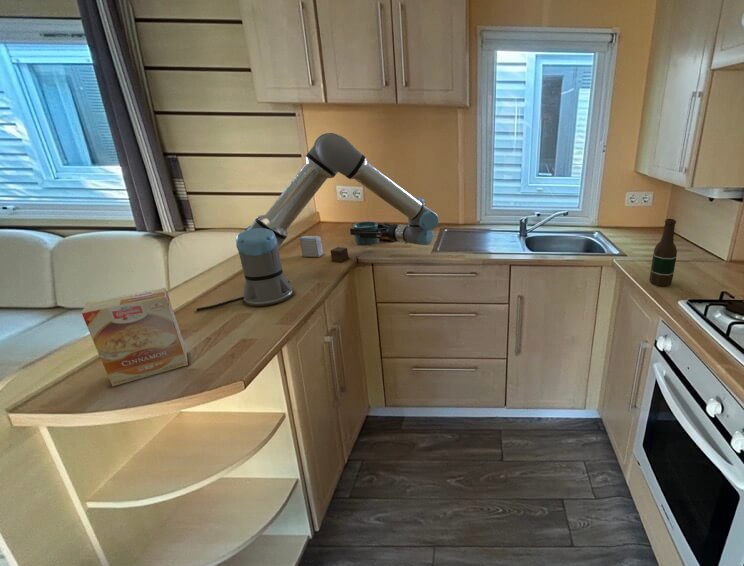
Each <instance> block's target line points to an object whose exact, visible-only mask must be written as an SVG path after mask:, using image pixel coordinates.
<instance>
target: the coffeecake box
mask: <svg viewBox="0 0 744 566" xmlns="http://www.w3.org/2000/svg"><path fill="white" fill-rule="evenodd" d="M81 315H82V318H83V320H84V322H85V325H86V327H87V330H88V333H89V335H90V337H91V340H92V342H93V344H94V347H95V349H96V351H97V355H98V356H99V359H100V361H101V363H102V365H103V367H104V370H105V372H106V375H107V377H108V379H109V382H110V384H111V386H112V387H115V386H116V387H117V386H119V385H123V384H126V383H130V382H134V381H136V380H141V379H144V378H147V377H151V376H155V375H158V374H161V373H165V372H168V371H172V370H175V369H180V368H182V367H186V366H188V352H187V348H186V346H185V343H184V339H183V336H182V334H181V330H180V327H179V324H178V321H177V318H176V315H175V312H174V308H173V306H172V303H171V300H170V297H169V294H168V290H167V288H166V287H162V288H161V287H160V288H157V289H152V290H147V291H142V292H135V293H130V294H124V295H121V296H114V297H110V298H104V299H99V300H93V301H88V302H86V303H85V305H84V308H82V311H81Z"/></svg>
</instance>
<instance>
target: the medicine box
mask: <svg viewBox="0 0 744 566" xmlns="http://www.w3.org/2000/svg"><path fill="white" fill-rule="evenodd" d="M298 239H299V244H300V250H301V255H302V257H303V258H304V257H307V258H308V257H309V258H311V257H312V258H320V257H321V256H323V255H324V250H323V245H322V238H321V236H320V235H303V236H301V237H300V238H298Z"/></svg>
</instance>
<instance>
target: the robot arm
mask: <svg viewBox="0 0 744 566" xmlns="http://www.w3.org/2000/svg"><path fill="white" fill-rule="evenodd" d="M338 173H339V174H340V175H342V176H344V177H346V178H347V179H349V180H354V181H356V182H358V183H359V184H360V185H362V186H363V187H365V188H366V189H368V190H369V191H370V192H371V193H373V194H374V195H375V196H377V197H379V198H380V199H381V200H383V201H384V202H386V203H387V204H389V205H390V206H391V207H393V208H394V209H395V210H397V211H398V212H399V213H401V214H403V215H404V216H405V217H406V218H407V222H408V224H399V223H388V222H383V223H382V222H381V223H378V222H377V223H378V229H377V230H366V231H363V230H362V229H353V227H352V228H349V232H350V233H349V234H350V235H351V236H354V235H357V236H359V237H360V238H378V239H379V240H382V239H381V237H388V238H389V239H390V240H389V241H391V242H396V243H397V242H400V243H404V244H414V245H418V246H428V245H430V244H431V243H432V242H433V240H434V231H433V230H435V229H436V228H437V227H438V226H439V223H440V222H439V220H440V219H439V216H438V214H437V213H436V212H435V211H434V210H432V209H430V208H429V207H428V206H427V205H426V201H425V199H424V198H422V197H415V196H413V195H412V194H411V193H409V192H408V191H407V190H406V189H404V188H403V187H401V185H399V184H397V183H396V182H394V181H393V180H392V179H390V178H389V177H388V176H387V175H385V174H384V173H383V172H382V171H380V170H379V169H378V168H376V166H374V165H372V164H371V163H369V161H367V157H366V155H364V154H363V153H362V152H360V151H359V150H358V148H356V147H355V146H354V145H353V144H352V143H351V142H350V141H349V140H348V139H347V138H345V137H344V136H342V135H340V134H337V133H333V132H326V133H323V134H321V135H319V136H318V137H317V138H316V139H315V141H314V143H313V146H312V147H311V148H310V150H309V151H308V152H307V153H306V155H305V164H304V165H303V166H302V168H301V169H300V170H299V171H298V172H297V174H296V175H295V176H294V178H293V179H292V180H291V181H290V182H289V184H288V185H287V186H286V187H285V189H284V191H283V192H281V194H280V195H279V197H278V198H277V199H276V200H275V201H274V203H273V204H272V206H271V207H270V208H269V209H268V211H267V212H266V213H265V214H262V215H258V216H257V217H256V218H255V219H254V221H253V222H252V223H251V224H250V225H249V226H247V227H246V228H245V229H244V231H241V232H240V233H238V234H237V235H236V237H235V247H236V249H237V251H238V256H239V259H240V264H241V268H242V271H243V275H244V280H245V281H244V289H243V296H241V297H236V298H234V299H230V300H226V301H223V302H220V303H215V304H212V305H208V306H202V307H197V308H196V309H195V310H196V312H201V311H207V310H210V309H211V310H213V309H215V308H220V307H223V306H226V305H229V304H232V303H236V302H240V301H244V304H245V305H247V306H250V307H268V306H273V305H276V304H280V303H283V302H285V301H287V300H289V299H291V297H292V296H293V295H294V290H293V287H292V285H291V282H290V281H289V280H288V279H287V277H286V276H285V274H284V270H283V266H282V261H281V256H280V249H279V248H280V247H281V245H282V244H283V243H284V241H285V240H286V239H287V238H288V237H289V233H288V229H289V228H290V226H291V225H292V224H293V223H294V221H295V220H296V219H297V217H298V216H300V214H301V212H302V211H303V210H304V209H305V207H306V206H307V205H308V204H309V202H310V201H311V200H312V198H313V197H314V196H315V195H316V193H317V192H318V191H319V189H320V188H321V187H322V186H323V185H324V183H325V182H326V181H327V179H333V178H335V177H336V176H337V174H338ZM380 228H381V229H380ZM379 230H380V232H379Z"/></svg>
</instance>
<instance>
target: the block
mask: <svg viewBox="0 0 744 566" xmlns="http://www.w3.org/2000/svg"><path fill="white" fill-rule="evenodd" d="M330 257H331V262H335V263H337V262H338V263H343V262H345V261H347V260H349V252H348V248H347V247H340V246H337V247H334V248H332V249H330Z"/></svg>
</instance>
